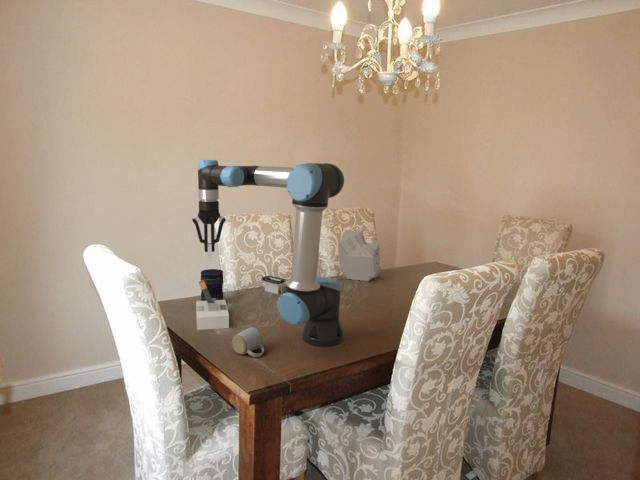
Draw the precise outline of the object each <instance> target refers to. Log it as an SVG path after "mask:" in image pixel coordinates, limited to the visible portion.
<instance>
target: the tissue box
mask: <svg viewBox="0 0 640 480" xmlns="http://www.w3.org/2000/svg"><path fill="white" fill-rule="evenodd" d="M364 237H365V236H364V235H363V231H358V230H345V231H344V232H343V234H342V236H341V238H340V240H339V242H338V243H337V249H338V261H339V263H338V265H339V270H340V272H341V273H342V274H343V276H344V277H345V279H346V278H347V280H348V279H352V280H351V281H358V280H360V282H370V281H371V280H372V279H376V278H377V277H378V275H379V274H380V272H381V269H382V266H381V254H380V253H381V252H380V242H379V241H377V242H367V241H366V239H365V238H364ZM369 280H370V281H369Z"/></svg>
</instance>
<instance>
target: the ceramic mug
mask: <svg viewBox="0 0 640 480" xmlns="http://www.w3.org/2000/svg"><path fill="white" fill-rule="evenodd" d="M231 342H232V343H231V345H232V348H233V351H235V352H236V353H237V354H238V355H242V356H243V355H246V354H247V355H249V356H250V357H253V358H259V357H261V356H263V354H264V352H265V348H264V346H263V335H262V334H261V332H260V331H259V330H258V329H257V328H256V327H254V326H250V327H248V328H246V329H244V330H242V331H240V332H238V333H236V334H235V335H234V336H233V338H232V340H231ZM257 349H260V350H261V352H260V353H255V352H253V351H255V350H257Z"/></svg>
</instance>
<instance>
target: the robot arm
mask: <svg viewBox="0 0 640 480" xmlns="http://www.w3.org/2000/svg"><path fill="white" fill-rule="evenodd" d="M343 173H344V172H343V171H342V170H341V168H339V166H337V165H335V164H332V163H318V162H317V163H314V162H313V163H312V162H306V163H300V164H298V165H295V167H287V166H286V167H284V166H266V165H265V166H264V165H219V161H218V159H200V160H198V162H197V181H198V185H197V187H198V188H197V189H198V200H199V201H198V213H197V216H195V217H192V219H191V220H192V222H193V224H194V226H195V228H196V233H197V237H198V240H199V243H201V244H203V245H204V246H203V247H204V252H205V253H207V261H209V262H212V261H213V260H212V259H213V257H212V256H213V253H214V252H215V250H216V249H215V244H217V243H219V242H220V239H221V236H222V235H221V234H222V232H223V231H222V230H223V227H224V224H225V222H226V217H223V216H221V213H220V207H219V206H220V205H219V203H220V202H219V201H218V200H219V199H220V198H219V196H220V195H219V189H220V188H219V187H220V186H222V187H228V188H236V187H237V188H239V187H240V186H242V187H243V186H258V187H260V186H261V187H271V188H272V187H274V188H282V189H283V188H284V189H285V188H286V190H287V193H288V195H289V196H290V198H291V201H292V202H291V205H293V207H294V208H295V224H294V236H293V246H292V247H293V248H292V260H291V261H292V262H291V272H290V279H288V280H286V282H285V292H282V293H281V295H280V296H279V297H278V300H277V310H278V313H279V315H280V316H281V317H282V319H283V320H284V321H285V322H286V323H287V324H289V325H292V326H300V325H304V326H303V327H304V328H303V330H302V332H301V333H302V334H301V337H302V339H301V340H303V342H305V343H306V344H308V345H311V346H317V347H333V346H336V345H339V344H341V343H342V342H343V338H344V333H343V329H342V325H341V322H340V304H341V303H340V302H341V292H342V291H341V283H340V281H339V280H338V279H334V278H330V277H324V276H317V275H318V265H319V256H320V255H319V252H320V244H321V243H320V242H321V231H322V222H323V211H324V210H326V209H327V208H328V205H329V199H330V198H334V197H336V196H337V195H338V194H340V192H341V191H342V190H343V188H344V186H345V176H344V174H343ZM199 221H200V222H202V224H203V228H204V229H203V236H202V232H201V229H200V225H199ZM218 221H219V224H218V229H217V234H216V236H215V224H216V223H217V222H218ZM208 225H210V242H208V240H209V239H208V237H209V236H208V235H209V234H208V227H209V226H208Z"/></svg>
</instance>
